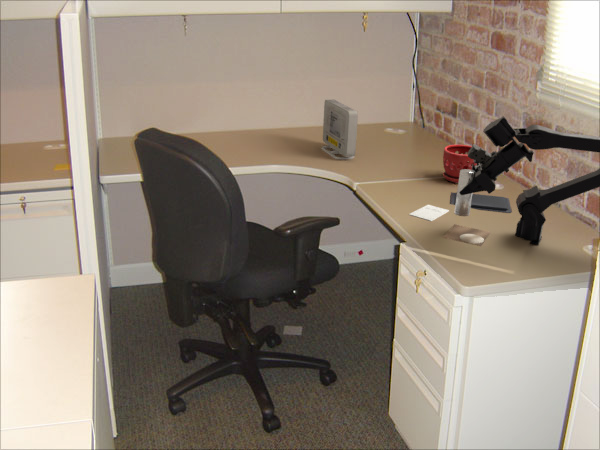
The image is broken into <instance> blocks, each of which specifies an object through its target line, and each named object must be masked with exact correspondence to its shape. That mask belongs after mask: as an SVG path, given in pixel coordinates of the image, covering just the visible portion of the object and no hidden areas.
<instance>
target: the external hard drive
mask: <svg viewBox="0 0 600 450" xmlns="http://www.w3.org/2000/svg"><path fill="white" fill-rule="evenodd" d="M449 212H450V210H449V209H446V208H444V207H443V208H442V207H438V206H434V205H432V204H426V205H424V206H422V207H420V208H418V209H416V210H414V211H413V212H410V213H408V215H409V216H411V217H415V218H419V219H423V220H425V221H429V222H433V221H434V220H436V219H438V218H440V217H442V216H443V215H445V214H447V213H449Z"/></svg>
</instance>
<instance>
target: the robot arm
mask: <svg viewBox="0 0 600 450" xmlns="http://www.w3.org/2000/svg"><path fill="white" fill-rule="evenodd" d="M483 133H484V134H485V136H486V137H487V139H489V140H490V141H491V143H492V144H493V145H494V146H495V148H496V147H500V149H499V150H498V151H496V150H495V151H491V152H488V151H487V150H486V149H485V148H482V147H480V146H479V145H477V144H475V143H473V144H472V145H471V146H472V147H471V148H470V150H469V151H468V152H466V155H467V154H468V157H469V158H471V159H474V163H476V164H477V165H476V166H474V165H472V170H473V171H475V172H476V174H475V173H474V172H473V178H472V180H471V181H470V182H469V183H468V184H467V185H466V186H465V187H464V188H463V189H462V190H461V191H460V192H459V193H460V194H461V195H466V194H470V193H473V194H476V193H479V192H480V193H481V192H487V193H488V195H489V194H492V193H493V192H494V191H495V190H496V182H495V181H497V180H498V179H497V178H498V177H499V176H501V175H502V174H503V173H509V172H510V169H511V168H512V167H513V166H515V165H516V164H517V163H519V162H520V161H522V160H523V159H524V158H526V159H527V160H528V162H530V163H532V162H533V156H534V150H535V151H538V150H539V151H541V150H551V149H558V148H559V149H566V150H575V151H583V152H592V153H599V154H600V136H595V135H587V134H585V135H584V134H579V133H578V134H577V133H570V132H561V131H557V130H554V129H551V128H549V127H546V126H543V125H539V124H531V125H528V126H527V127H521V128H513V126H511V124H510V123H509V122H508V120H507V118H506V116H503V115H502V116H501V117H500V118H497V119H495V120H493V121H491V122H490V123H489V124H487V125H486V126H485V128H484V129H483ZM527 147H528V148H529V149H530V150H529V149H528V148H527ZM538 187H539V186H537V185H535V186H533V187H531V188H529V189H522V192H521V193H520V194H518V195H517V197H516V200H515V204H516V208H517V211H518V213H519V215H520V216H521V217H520V218H519V220H518V222H517V223H516V228H515V236H516V237H517V238H520V239H522V240H525V241H529V244H531V245H535V246H536V245H537V246H538V245H540V242H541V240H542V239H543V236H542V234H543V229H544V224H545V222H546V220H547V219H546V217H545V214H544V212H545V211H546V210H547V209H549V208H550V207H551V206H552V205H554V204H556V203H560V202H562V201H565V200H568V199H570V198H575V196H579V195H581V194H584V193H587V192H589V191H593V190H595V189H598V188H600V167H599V168H598V169H597V170H594V171H592V172H589V173H586V174H584V175H581V176H579V177H576V178H574V179H571V180H568V181H566V182H563V183H560V184H558V185H555V186H553V187H549V188H546V189H539V188H538Z"/></svg>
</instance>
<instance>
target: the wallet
mask: <svg viewBox="0 0 600 450" xmlns="http://www.w3.org/2000/svg"><path fill="white" fill-rule="evenodd" d="M456 197H457V192H453V191H452V192H450V197H449V205H453V206H455V204H456ZM470 209H474V210H476V211H477V210H478V211H487V212H496V213H503V214H511V213H512V212H513V211H512V207H511V202H510V198H508V197H505V196H497V195H489V194H487V195H486V194H478V193H473V195H472V201H471V208H470Z"/></svg>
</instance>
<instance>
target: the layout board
mask: <svg viewBox="0 0 600 450" xmlns="http://www.w3.org/2000/svg"><path fill="white" fill-rule="evenodd" d="M490 234H491V231H489V230H483V229H478V228H474V227H469V226H463V225H459V224H456V223H455V224H453V225H452V226H451V228H449V230H448V231H447V232H446V233H445V234H444V235H443V237H442V239H446V240H447V239H448V240H450V241H451V240H452V241H456V242H461V243H465V244H471V245H474V246H479V247H482V245H483V244H484V243H485V241H486V240H487V238H488V237H489V235H490Z"/></svg>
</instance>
